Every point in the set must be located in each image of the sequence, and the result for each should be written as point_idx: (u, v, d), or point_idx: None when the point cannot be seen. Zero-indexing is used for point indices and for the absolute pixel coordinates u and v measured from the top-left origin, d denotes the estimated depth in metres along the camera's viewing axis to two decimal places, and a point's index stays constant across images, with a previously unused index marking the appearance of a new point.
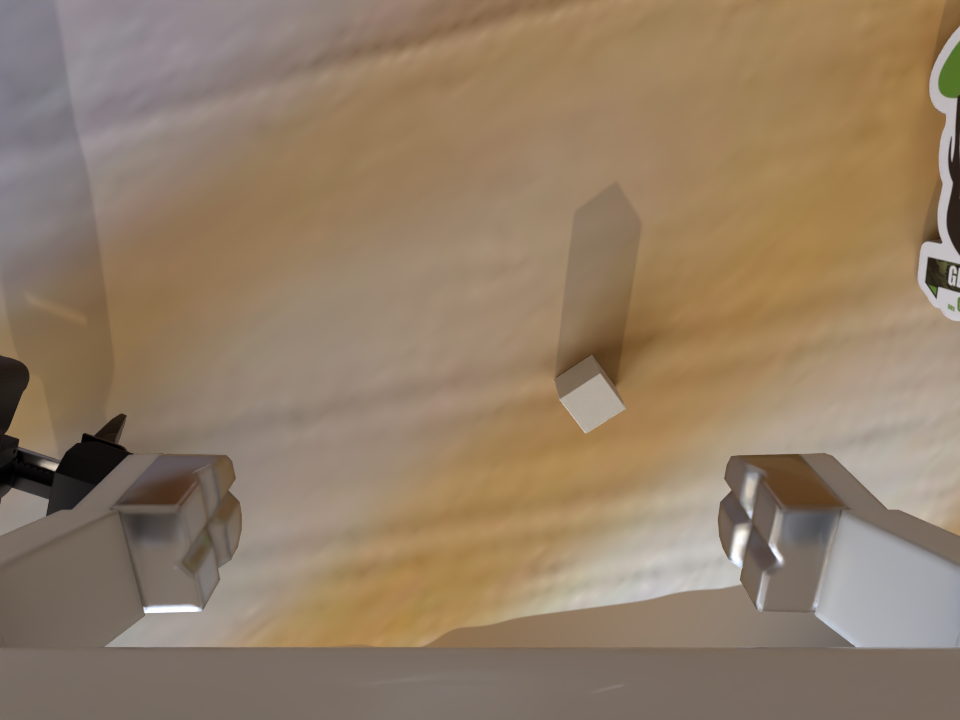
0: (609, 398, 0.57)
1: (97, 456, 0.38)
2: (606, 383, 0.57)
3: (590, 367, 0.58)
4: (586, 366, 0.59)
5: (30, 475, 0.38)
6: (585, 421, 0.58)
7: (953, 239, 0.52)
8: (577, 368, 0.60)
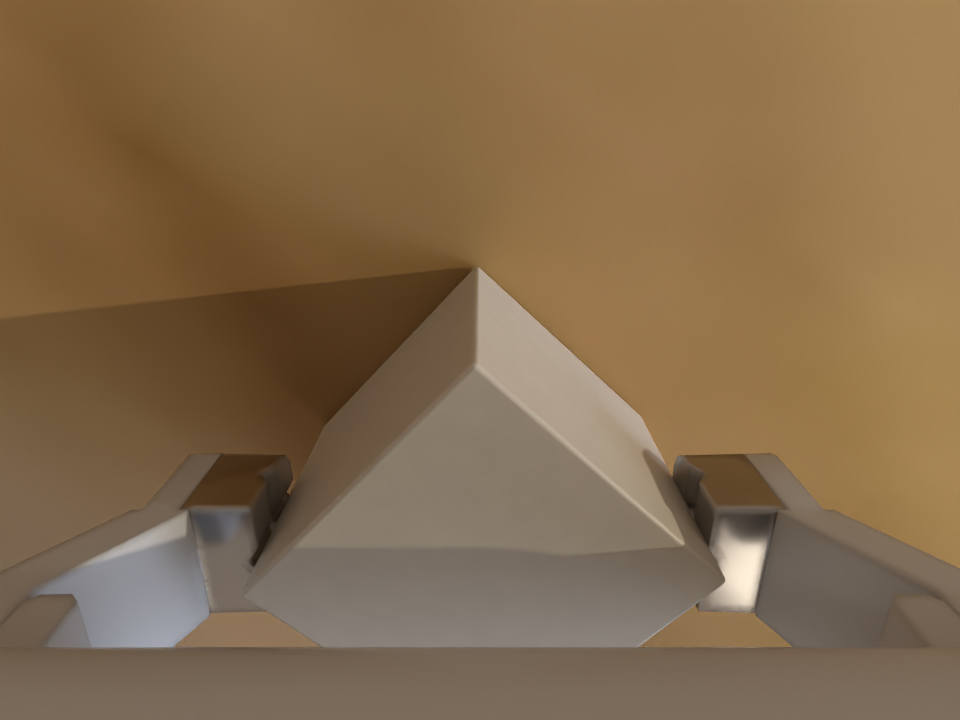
0: (412, 498, 0.08)
1: None
2: (304, 544, 0.08)
3: None
4: None
5: None
6: (627, 602, 0.08)
7: None
8: None
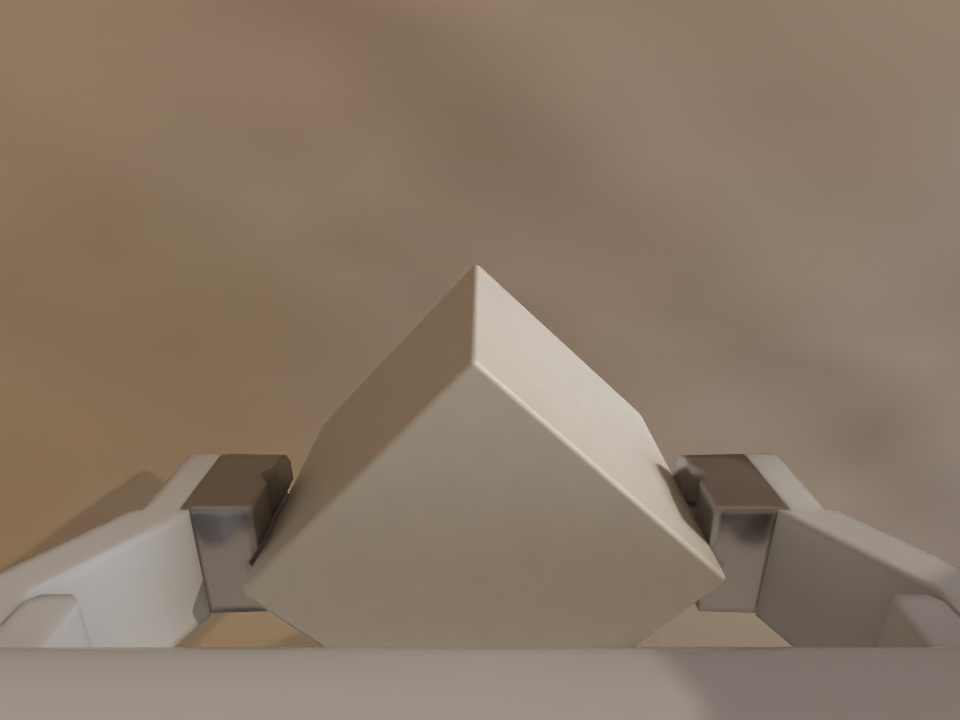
0: (412, 496, 0.07)
1: None
2: (303, 541, 0.08)
3: None
4: None
5: None
6: (627, 600, 0.08)
7: None
8: None
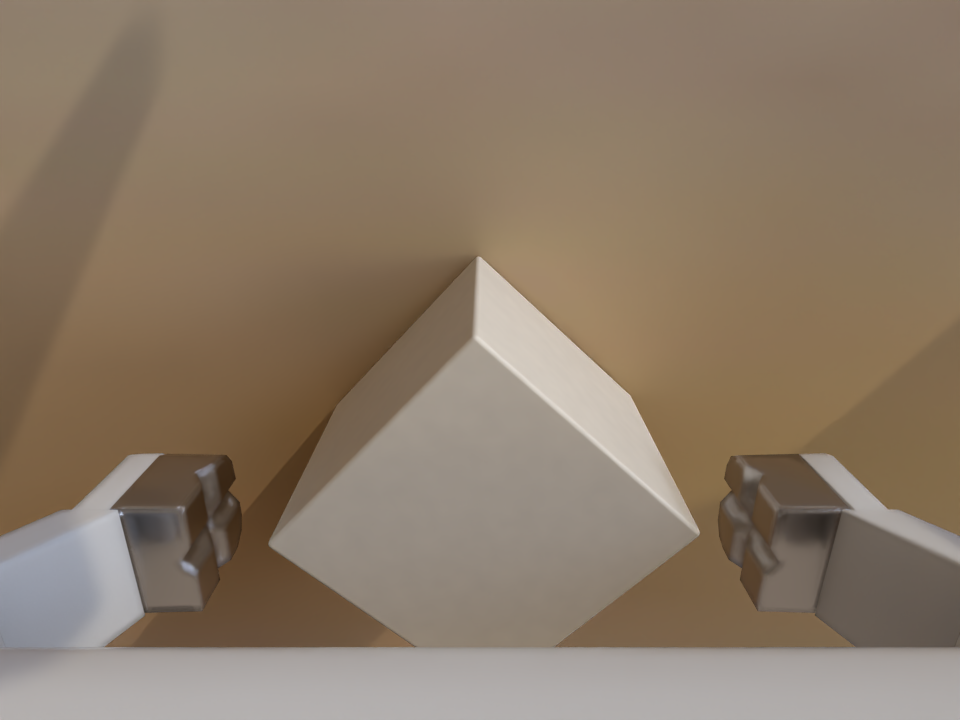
0: (419, 458, 0.08)
1: None
2: (324, 498, 0.09)
3: None
4: None
5: None
6: (612, 553, 0.09)
7: None
8: None
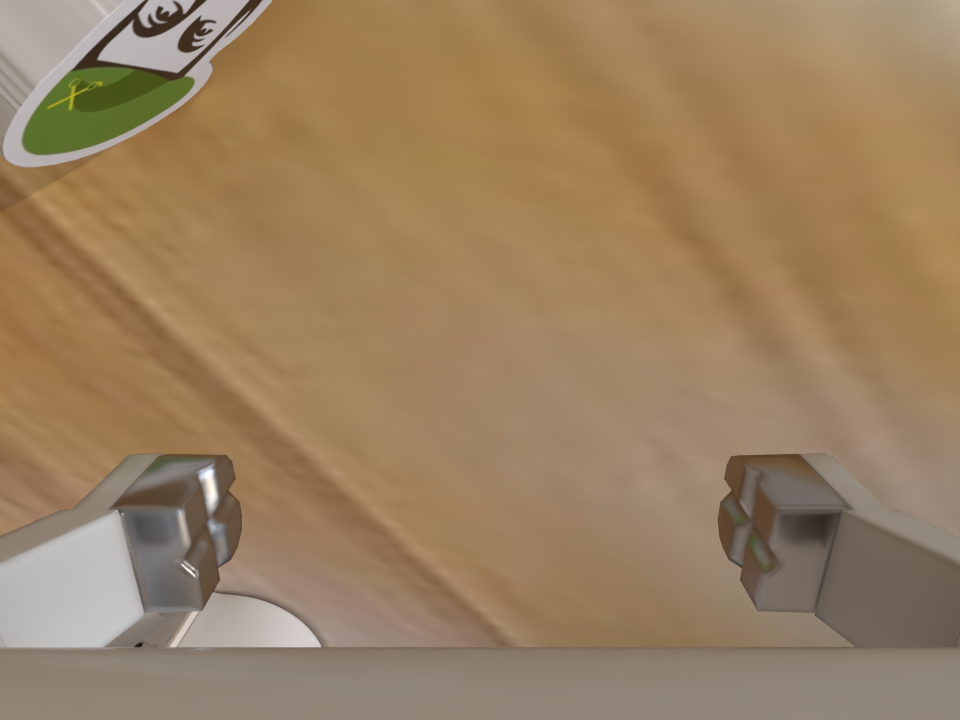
0: None
1: None
2: None
3: None
4: None
5: None
6: None
7: None
8: None
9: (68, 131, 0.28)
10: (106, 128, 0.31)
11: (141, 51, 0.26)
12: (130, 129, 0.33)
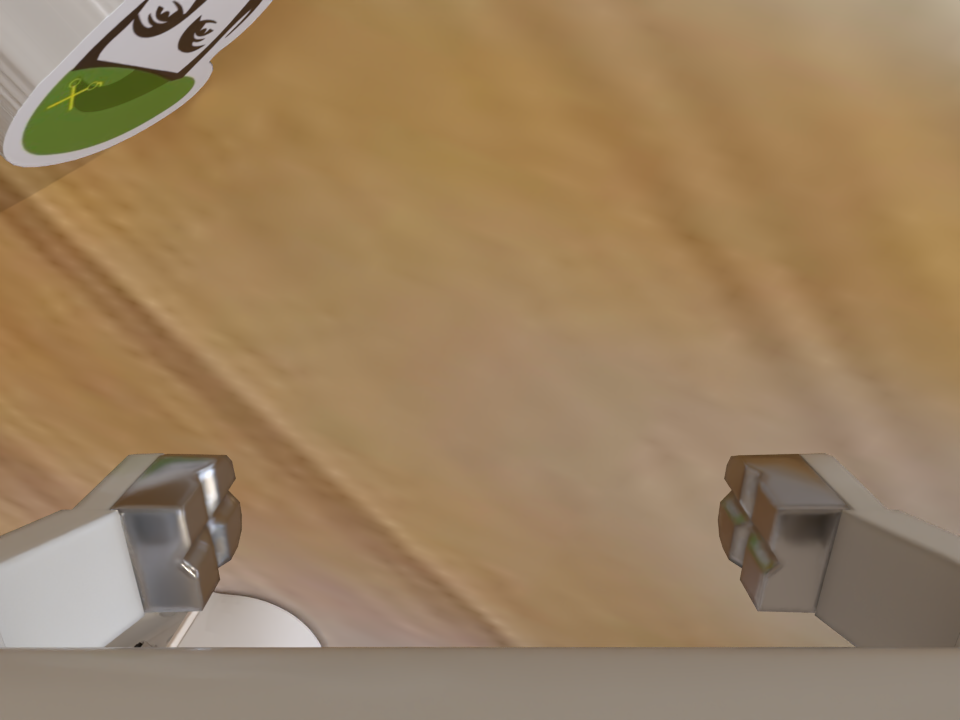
0: None
1: None
2: None
3: None
4: None
5: None
6: None
7: None
8: None
9: (68, 131, 0.28)
10: (106, 128, 0.31)
11: (142, 51, 0.26)
12: (130, 129, 0.33)
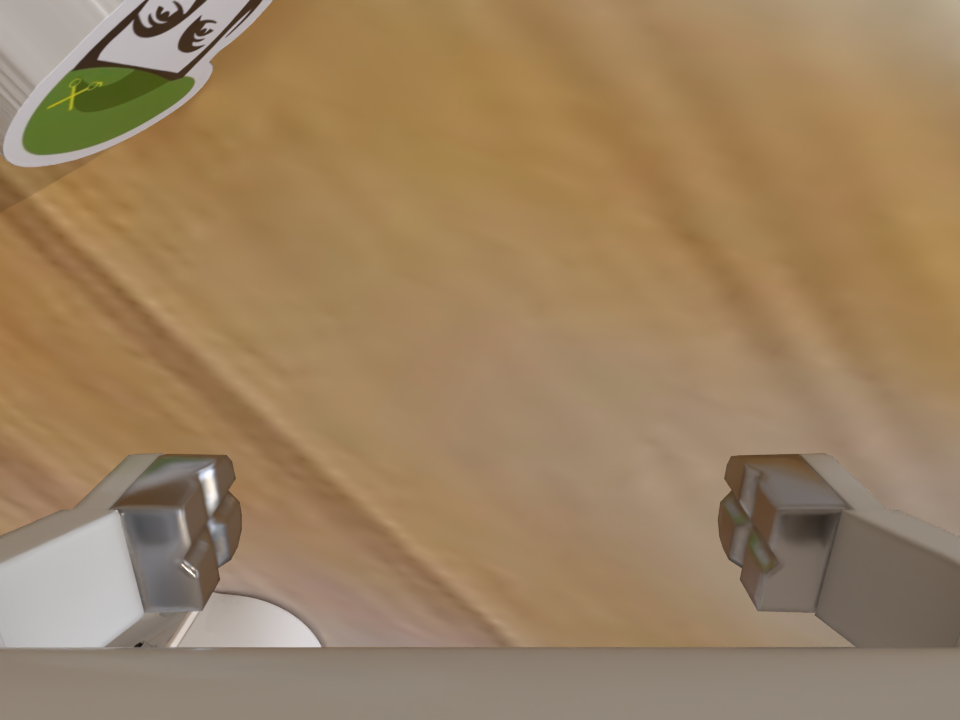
0: None
1: None
2: None
3: None
4: None
5: None
6: None
7: None
8: None
9: (68, 131, 0.28)
10: (106, 128, 0.31)
11: (142, 51, 0.26)
12: (130, 129, 0.33)
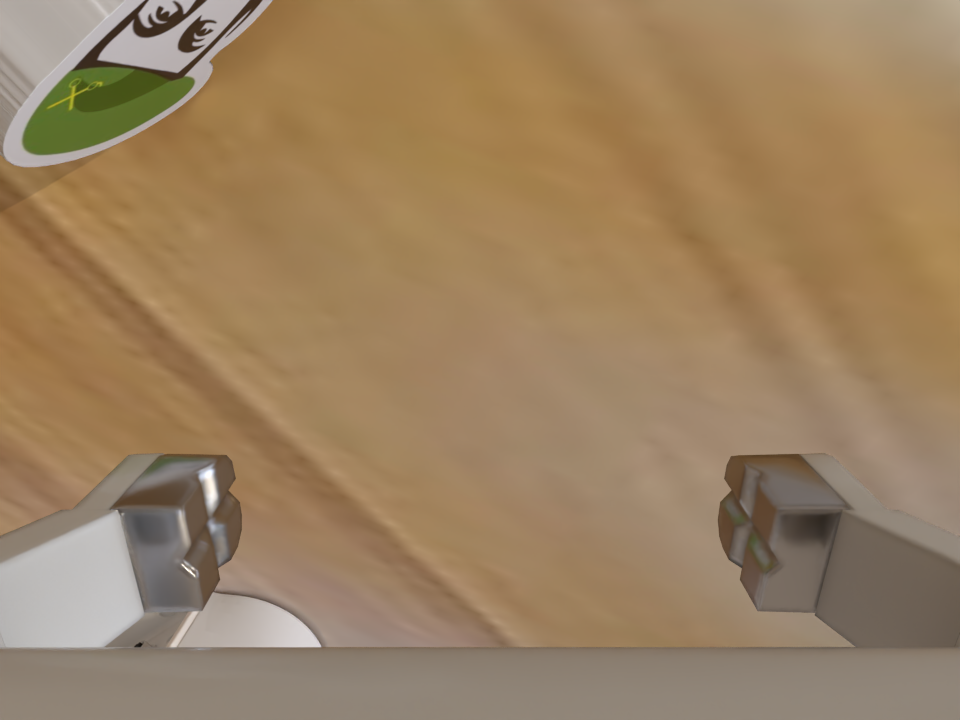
0: None
1: None
2: None
3: None
4: None
5: None
6: None
7: None
8: None
9: (68, 131, 0.28)
10: (106, 128, 0.31)
11: (142, 51, 0.26)
12: (130, 129, 0.33)
